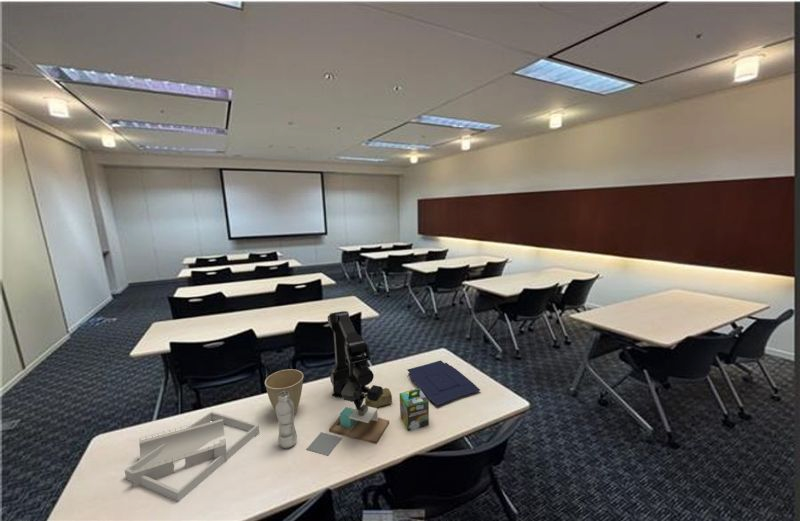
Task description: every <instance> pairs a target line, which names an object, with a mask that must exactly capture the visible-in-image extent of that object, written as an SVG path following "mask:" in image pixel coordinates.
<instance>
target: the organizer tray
mask: <svg viewBox="0 0 800 521" xmlns="http://www.w3.org/2000/svg"><path fill="white" fill-rule="evenodd" d="M220 416H221V417H220ZM216 417H217V418H216ZM212 418H213V419H212ZM214 419H215V420H214ZM219 419H223V423H224V425H225V426H229V427H233V428H235V429H240V430H243V431H246V433H244V435H242V436H241V437H240V438H239V439H237V441H235V442H234V443H233V444H232V445H230V447H228V448H226V458H227V461H228V460H230V459H231V457H233V456H234V455H236V453H237V452H239V451H240V450H241V449H242V448H243V447H244V446H246V445H247V444H248V443H249V442H250V441H251V440H252V439H255V437H256V436H257V435H258V434H259V435H260V426H259V424H256V423H253V422H250V421H247V420H243V419H239V418H236V417H233V416H229V415H225V414H222V413H219V412H215V411H212V410H211V411H210V412H208V413H207V414H205V415H204V416H203V417H202V418H200V419H198V420H197V421H195V422H193V423H191V424H190V425H188V426H187V428H190V427H193V426H197V425H201V424H205V423H208V422H210V420H211V421H216V420H219ZM205 420H206V421H205ZM201 421H203V423H202V422H201ZM197 422H198V423H197ZM199 423H200V424H199ZM195 424H196V425H195ZM259 435H258V436H259ZM258 436H257V437H258ZM257 437H256V438H257ZM165 445H166V444H163V445H161V446H159V447H158V448H156V449H155V450H153V451H152V452H150V453H149V454H147V455H146V456H145V457H143V458H142V459H140V458H139V459H138V460H137V461H136V462H134V463H133V464H132V465H129V466H128V467H126V468H125V469H124V474H125V478H127V479H126V480H128V479H129V480H128V481H130V480H131V481H130V482H132V481H133V478H132V472H133V471H132V470H134V469H135V470H137V469H140V468H141V467H142V466H144V465H145V464H147V463H148V462H150V461H151V460H152V459H154V458H155V457H157V456H158V455H159V454H160V453H161V451H162V450H163V449H164V447H165ZM225 463H226V462H225V459H224V456H223V455H221V456H219V457H217V458H216V459H215V458H214V459H213V461H211V462H210V463H209V464H207V465H206V466H205V467H204V468H203V469H202V470H201V471H200V472H198V473H197V474H196V475H195V476H194V477H192V478H191V479H190V480H188V482H187V483H185V484H184V485H183V486H181V487H180V488H179V489H178V488H174V487H172V486H170V485H167V484H166V483H163V482H161V481H158V480H157V479H156V480H154V479H152V478H149V477H147V476H145V475H144V476H141V477H140V481H141V485H140V486H141V487H144V488H147V489H148V490H150V491H151V490H152V491H153V492H156V493H158V494H160V495H162V496H165V497H168V498H169V499H172V500H174V501H177V502H181V501H182V499H184V498H185V497H186V496H187V495H189V494H190V493H191V492H192V491H193V490H194V489H196V488H197V487H198V486H199V485H200V484H201V483H203V482H204V481H205V480H206V479H208V477H209V476H211V475H212V474H213V473H214V472H215V471H216V470H218V469H219V468H221V466H222V465H223V464H225ZM132 467H133V468H132Z"/></svg>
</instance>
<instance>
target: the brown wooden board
mask: <svg viewBox="0 0 800 521" xmlns="http://www.w3.org/2000/svg"><path fill="white" fill-rule="evenodd" d="M389 424H390V420H388V419H385V418H380V417H378V421H373V420H370V421H369V423H366V422H362V421H358V420H356V423H355V425H354V426H353V427H352V428H351V429H349V428H345V427H342V426H340V415H339V416H338V417H337V418H336V420H334V422H333V424H331V425H330V426H329V428H328V432H329V433H332V434H336V435H340V436H345V437H348V438H352V439H356V440H360V441H364V442H368V443H372V444H375V445H377V444H378V443H379V441H380V439H381V437H382V436H383V434H384V433H385V431H386V429H387V428H388V427H389Z"/></svg>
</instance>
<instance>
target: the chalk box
mask: <svg viewBox="0 0 800 521" xmlns="http://www.w3.org/2000/svg"><path fill="white" fill-rule="evenodd" d="M429 401H430V399H429V398H428V397H427V395H426V394H425V393H424V392H423V391H422V390H421V389H420V387H418V388H415V389H409V390H407V391H403V392H401V393H399V410H400V412H399V413H400V416H399V417H400V420H401V421H402V423H403V425H404V427H405V429H406V431H407V432H412V431H415V430H419V429H423V428H426V427H428V426H430V422H429V420H430V418H429V417H430V415H429V413H430V411H429V408H430V407H429V406H430V402H429Z"/></svg>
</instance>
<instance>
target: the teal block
mask: <svg viewBox="0 0 800 521" xmlns="http://www.w3.org/2000/svg"><path fill="white" fill-rule="evenodd" d="M355 409H356V408H351V407H348V406H345V407H344V408H343V409H342V410H341V412H340V413H339V416H340V425H339V426H342V427H345V428H349V429H352V428H353V426H354V425H355V424H356V422H357V420H354V419H350V418H349V416H350V415H351V414H352V412H353V411H354V410H355Z"/></svg>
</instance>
